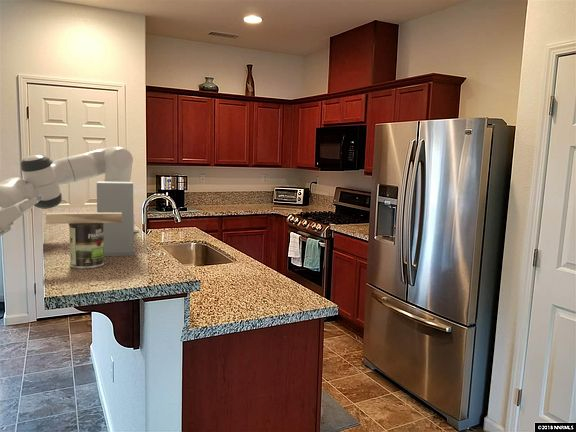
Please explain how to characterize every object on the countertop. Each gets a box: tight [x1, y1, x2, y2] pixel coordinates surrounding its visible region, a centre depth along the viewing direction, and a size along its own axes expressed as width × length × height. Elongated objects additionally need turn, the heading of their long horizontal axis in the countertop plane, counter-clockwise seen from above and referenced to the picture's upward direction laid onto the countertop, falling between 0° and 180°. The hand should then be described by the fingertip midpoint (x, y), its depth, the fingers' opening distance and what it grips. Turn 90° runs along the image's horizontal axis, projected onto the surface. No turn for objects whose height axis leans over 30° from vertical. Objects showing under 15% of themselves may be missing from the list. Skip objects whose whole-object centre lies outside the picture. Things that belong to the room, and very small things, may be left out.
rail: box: [45, 211, 122, 225], centre depth 144 cm, size 4×22×3 cm, turn 109°
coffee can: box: [68, 223, 105, 270], centre depth 145 cm, size 10×10×14 cm
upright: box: [96, 180, 136, 257], centre depth 162 cm, size 9×13×26 cm
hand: (39, 198), depth 141 cm, fingers open, 8 cm apart
